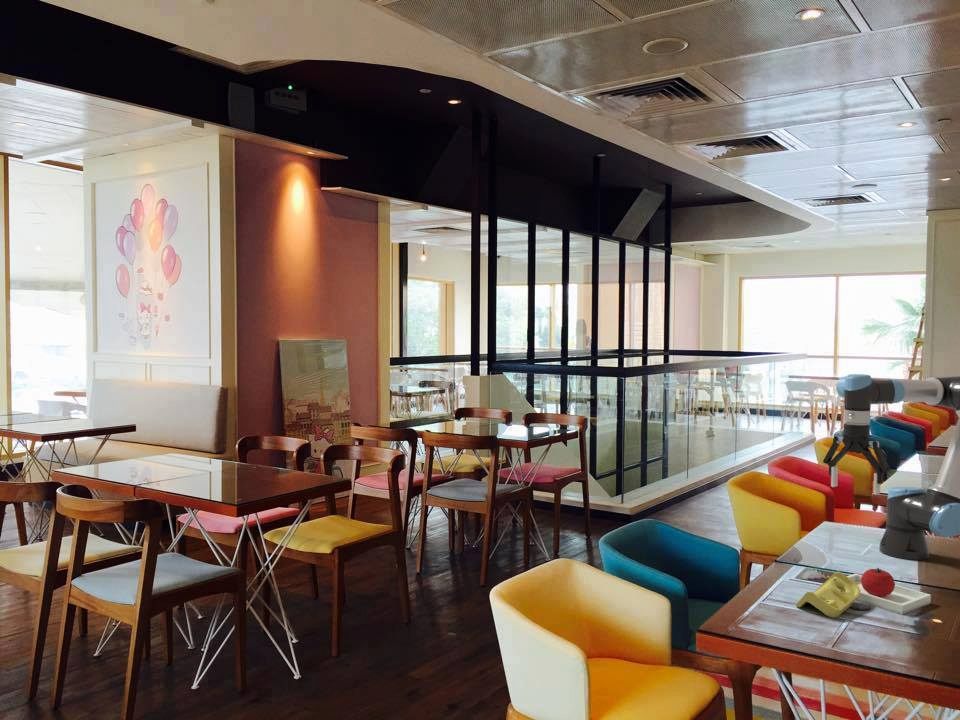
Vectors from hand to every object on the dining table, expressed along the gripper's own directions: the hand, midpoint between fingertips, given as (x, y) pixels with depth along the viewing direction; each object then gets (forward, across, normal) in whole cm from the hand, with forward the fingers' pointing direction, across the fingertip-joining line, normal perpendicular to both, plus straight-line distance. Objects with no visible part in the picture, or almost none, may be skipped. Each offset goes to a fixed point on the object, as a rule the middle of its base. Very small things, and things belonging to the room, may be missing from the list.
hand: (855, 490), depth 250 cm
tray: (+26, +16, -18) cm, 35 cm away
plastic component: (+26, +12, -36) cm, 46 cm away
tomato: (+26, +16, -18) cm, 35 cm away
